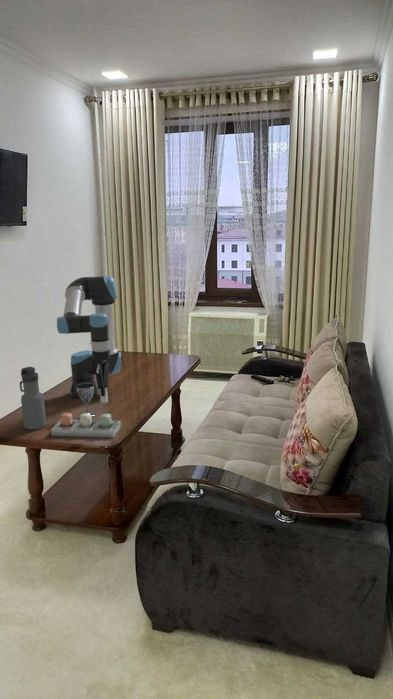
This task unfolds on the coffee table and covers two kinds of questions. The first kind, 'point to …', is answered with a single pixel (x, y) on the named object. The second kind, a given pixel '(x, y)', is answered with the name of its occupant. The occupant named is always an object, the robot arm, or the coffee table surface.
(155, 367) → the coffee table surface
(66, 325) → the robot arm
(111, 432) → the panel
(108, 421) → the pale green rounded egg
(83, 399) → the wine glass
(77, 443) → the coffee table surface
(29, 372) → the water bottle
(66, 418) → the brown egg
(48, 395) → the coffee table surface
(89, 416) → the white egg
